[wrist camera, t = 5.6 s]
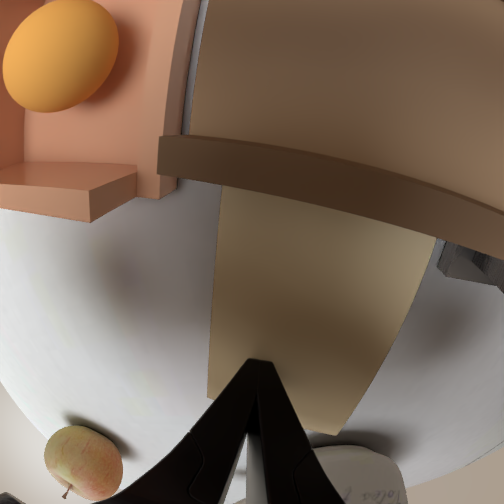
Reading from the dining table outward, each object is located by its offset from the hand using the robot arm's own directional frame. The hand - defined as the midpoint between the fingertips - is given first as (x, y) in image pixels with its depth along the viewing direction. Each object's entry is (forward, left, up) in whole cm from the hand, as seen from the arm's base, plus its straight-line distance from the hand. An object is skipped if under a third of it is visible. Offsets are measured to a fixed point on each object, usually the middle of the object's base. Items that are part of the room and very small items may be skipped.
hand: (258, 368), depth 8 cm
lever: (+5, -8, +1) cm, 10 cm away
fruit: (-19, +13, -4) cm, 23 cm away
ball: (+9, +8, -1) cm, 12 cm away
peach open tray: (+9, +8, -3) cm, 13 cm away
